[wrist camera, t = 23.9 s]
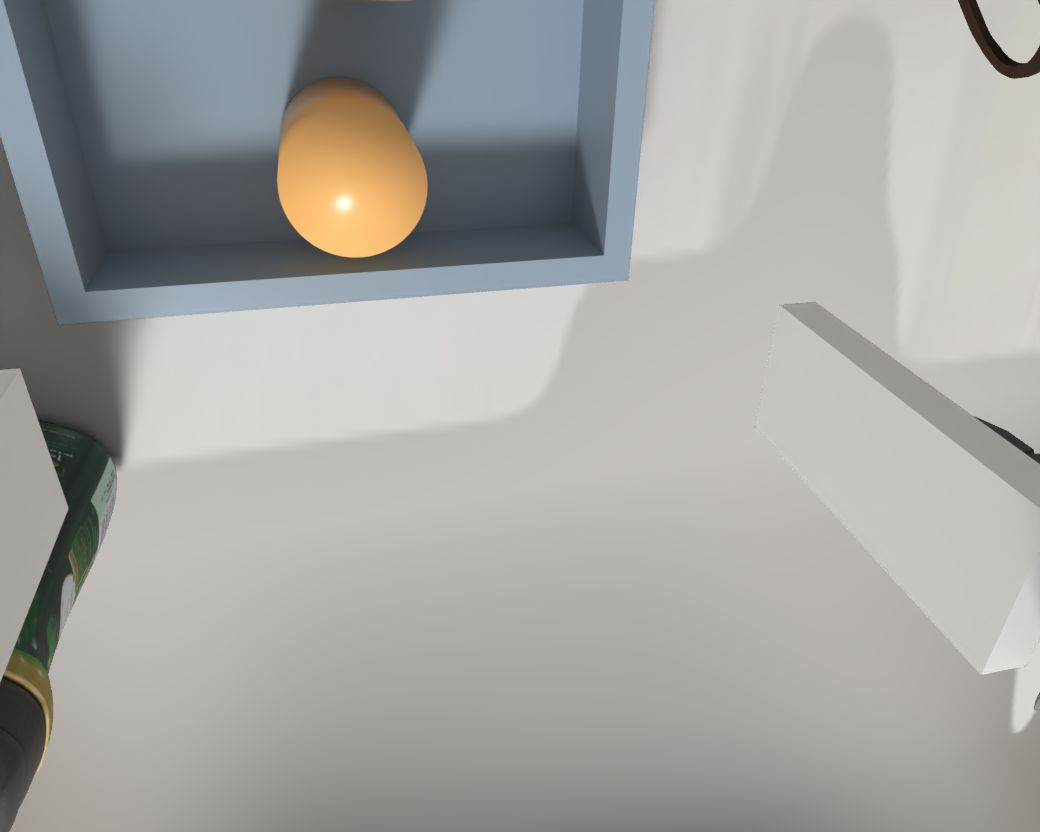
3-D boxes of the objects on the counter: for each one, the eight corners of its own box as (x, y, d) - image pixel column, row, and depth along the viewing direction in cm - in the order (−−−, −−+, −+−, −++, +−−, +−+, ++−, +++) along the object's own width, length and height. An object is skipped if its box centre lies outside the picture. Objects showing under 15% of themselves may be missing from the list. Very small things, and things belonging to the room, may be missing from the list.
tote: (-68, -297, 24) (-149, -350, 20) (618, -245, 29) (680, -278, 25) (88, 272, 34) (58, 325, 29) (587, 239, 39) (628, 280, 34)
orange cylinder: (272, 76, 31) (268, 109, 25) (401, 76, 32) (425, 108, 26) (287, 204, 34) (286, 261, 28) (406, 200, 35) (429, 254, 29)
